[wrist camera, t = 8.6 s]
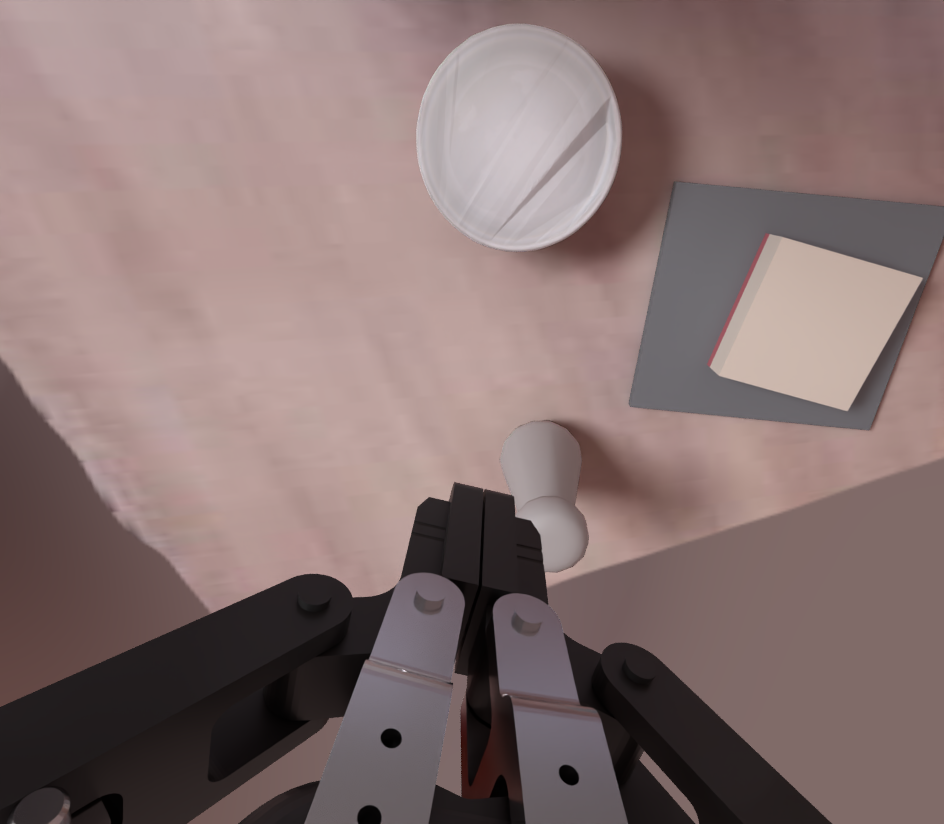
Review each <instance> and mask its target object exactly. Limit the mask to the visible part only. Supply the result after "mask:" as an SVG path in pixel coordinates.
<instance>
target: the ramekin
mask: <svg viewBox="0 0 944 824" xmlns="http://www.w3.org/2000/svg"><path fill="white" fill-rule="evenodd" d="M416 145H417V156H418V163H419V168H420V172H421V175H422V178H423V181H424V184H425V186H426V189H427V191H428V193H429V195H430V197H431V199H432V200H433V202H434V204H435V205H436V207H437V208H438V210H439V211H440V212H441V214H442V215H443V216H444V217H445V218H446V219H447V220H448V221H449V222H450V223H451V225H452V226H454V227H455V228H456V229H457V230H458V231H460V232H461V233H462V234H464V235H465V236H467V237H468V238H469V239H471V240H472V241H474V242H476V243H478V244H481V245H483V246H486V247H489V248H493V249H496V250H502V251H509V252H525V251H533V250H538V249H542V248H545V247H548V246H551V245H554V244H556V243H558V242H560V241H562V240H564V239H566V238H568V237H569V236H571V235H572V234H574V233H575V232H576V231H578V230H579V229H580V228H581V227H582V226H583V225H584V224H585V223H586V222H587V221H588V220H589V219H590V218H591V217H592V216H593V215H594V214H595V213H596V211H597V210H598V209H599V207H600V206H601V204H602V203H603V201H604V200H605V198H606V197H607V195H608V193H609V191H610V189H611V187H612V184H613V182H614V179H615V176H616V173H617V170H618V165H619V162H620V156H621V149H622V122H621V115H620V110H619V105H618V102H617V98H616V96H615V93H614V90H613V88H612V85H611V83H610V81H609V79H608V77H607V76H606V74H605V72H604V71H603V69H602V68H601V66H600V65H599V64H598V62H597V61H596V60H595V59H594V57H593V56H592V55H591V54H590V53H589V52H588V51H587V50H586V49H584V48H583V47H582V46H581V45H580V44H578V43H577V42H576V41H574V40H573V39H571V38H570V37H568V36H566V35H564V34H562V33H560V32H557V31H555V30H552V29H549V28H546V27H543V26H538V25H532V24H506V25H501V26H496V27H493V28H489V29H487V30H484V31H482V32H480V33H477V34H475V35H473V36H471V37H469V38H468V39H467V40H465V41H464V42H463V43H462V44H460V45H459V46H458V47H457V48H456V49H454V50H453V51H452V52H451V53H450V54H449V55H448V56H447V57H446V59H445V60H444V61H443V62H442V64H441V65H440V66H439V67H438V69H437V70H436V72H435V73H434V75H433V77H432V78H431V80H430V82H429V84H428V87H427V89H426V91H425V94H424V96H423V99H422V102H421V106H420V111H419V116H418V120H417V131H416Z"/></svg>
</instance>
